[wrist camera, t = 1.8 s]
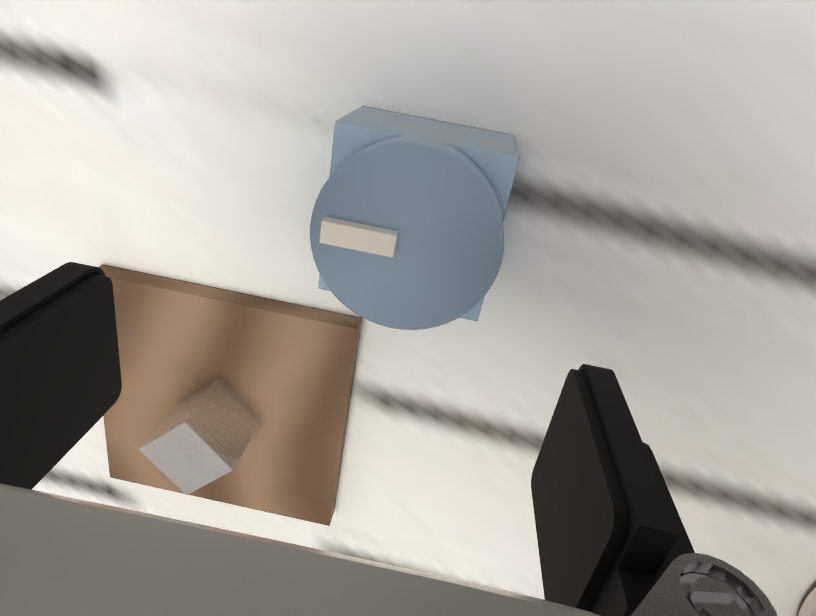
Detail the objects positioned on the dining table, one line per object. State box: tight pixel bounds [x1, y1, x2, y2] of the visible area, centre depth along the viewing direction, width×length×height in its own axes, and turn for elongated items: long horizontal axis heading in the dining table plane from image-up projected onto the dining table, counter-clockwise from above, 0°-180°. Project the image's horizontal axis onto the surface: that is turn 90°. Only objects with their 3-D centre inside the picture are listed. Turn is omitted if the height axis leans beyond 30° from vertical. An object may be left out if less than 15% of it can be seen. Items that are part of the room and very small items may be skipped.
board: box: [99, 265, 362, 526], centre depth 31 cm, size 14×14×1 cm
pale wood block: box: [139, 376, 262, 495], centre depth 29 cm, size 3×3×4 cm
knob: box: [310, 106, 519, 330], centre depth 22 cm, size 7×7×7 cm
